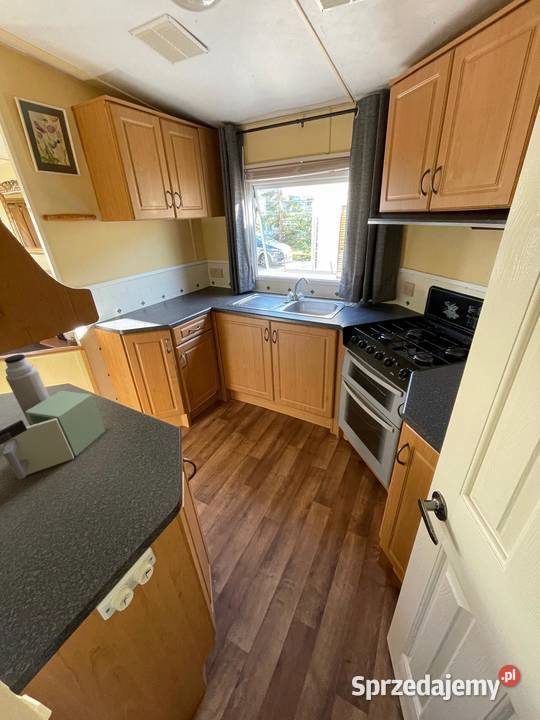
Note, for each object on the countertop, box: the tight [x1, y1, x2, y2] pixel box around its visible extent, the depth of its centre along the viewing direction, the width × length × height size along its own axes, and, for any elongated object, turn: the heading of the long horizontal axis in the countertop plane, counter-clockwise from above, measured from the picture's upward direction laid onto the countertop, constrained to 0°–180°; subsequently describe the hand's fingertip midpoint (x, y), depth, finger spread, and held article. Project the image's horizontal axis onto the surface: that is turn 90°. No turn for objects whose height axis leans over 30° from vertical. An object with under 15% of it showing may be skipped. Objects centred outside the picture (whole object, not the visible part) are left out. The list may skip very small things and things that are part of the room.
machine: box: [25, 390, 106, 457], centre depth 92 cm, size 12×13×15 cm
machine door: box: [2, 418, 75, 480], centre depth 80 cm, size 7×13×14 cm, turn 120°
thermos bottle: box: [4, 353, 50, 426], centre depth 96 cm, size 8×8×28 cm
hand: (8, 418), depth 71 cm, fingers open, 13 cm apart
